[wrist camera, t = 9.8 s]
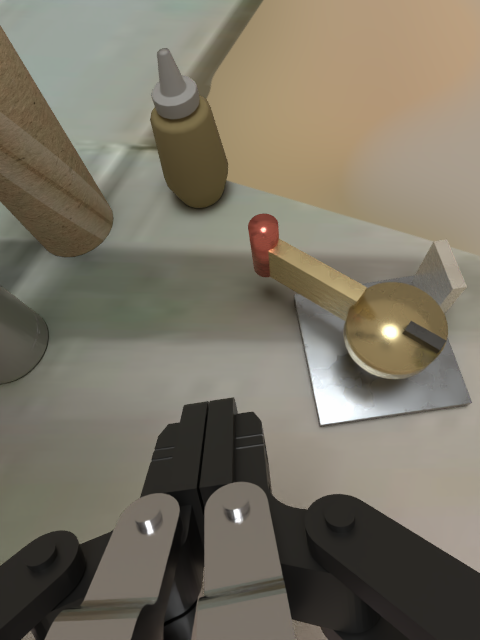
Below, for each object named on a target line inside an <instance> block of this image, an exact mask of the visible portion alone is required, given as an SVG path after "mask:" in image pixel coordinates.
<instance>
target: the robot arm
mask: <svg viewBox="0 0 480 640" xmlns="http://www.w3.org/2000/svg"><path fill="white" fill-rule="evenodd" d="M47 341H48V330H47V326H46V323H45V322H44V320H43V318H42V317H41V316H40V315H39V314H37V313H36V312H35V311H33V310H32V309H31V308H29V307H28V306H27V305H25V304H24V303H23V302H21V301H20V300H19V299H18V298H16V297H15V296H14V295H12V294H11V293H10V292H8V291H7V290H6V289H4V288H3V287H2V286H0V384H1V383H8V382H11V381H14V380H17V379H18V378H20V377H22V376H24V375H25V374H27V373H28V372H29V371H30V370H32V369H33V368H34V366H35V365H36V364H37V363H38V362H39V360H40V359H41V357H42V356H43V354H44V351H45V349H46V346H47ZM203 568H204V593H203V589H202V580H203ZM292 619H293V620H297V621H301V622H305V623H309V624H313V625H317V626H320V627H321V629H322V631H323V633H324V635H325V636H326V637H327V639H328V640H480V573H479V572H477V571H475V570H474V569H472V568H470V567H469V566H467V565H466V564H464V563H462V562H461V561H459V560H457V559H456V558H454V557H453V556H451V555H449V554H448V553H446V552H444V551H443V550H441V549H439V548H438V547H436V546H435V545H433V544H431V543H430V542H428V541H426V540H425V539H423V538H422V537H420V536H418V535H417V534H415V533H413V532H412V531H410V530H409V529H407V528H405V527H404V526H402V525H400V524H399V523H397V522H396V521H394V520H392V519H391V518H389V517H387V516H386V515H384V514H382V513H381V512H379V511H378V510H376V509H374V508H373V507H371V506H369V505H368V504H366V503H365V502H363V501H361V500H359V499H357V498H355V497H352V496H349V495H343V494H333V495H327V496H324V497H322V498H320V499H318V500H316V501H315V502H314V503H313V504H312V505H311V506H310V507H309V508H308V510H306V509H299V508H294V507H290V506H287V505H285V504H283V503H281V502H279V501H278V500H277V499H276V498H275V497H274V496H273V495H272V490H271V481H270V472H269V463H268V457H267V451H266V446H265V440H264V434H263V428H262V422H261V420H260V419H259V418H258V417H257V415H256V414H255V413H254V412H247V413H241V414H238V413H237V407H236V403H235V399H234V398H227V399H220V400H214V401H210V403H209V402H208V401H207V402H201V403H194V404H187V405H184V407H183V411H182V416H181V420H180V423H173V424H168V425H167V427H166V428H165V429H164V430H163V431H162V433H161V434H160V435H159V436H158V439H157V443H156V446H155V451H154V453H153V456H152V462H151V463H150V466H149V470H148V473H147V476H146V480H145V483H144V486H143V490H142V493H141V497H140V498H139V499H138V500H136V501H134V502H133V503H131V504H130V505H129V506H128V507H127V508H126V509H125V510H124V511H123V513H122V514H121V515H120V517H119V519H118V521H117V524H116V526H115V528H114V530H113V531H111V532H109V533H107V534H104V535H102V536H100V537H97V538H95V539H92V540H90V541H87V542H85V543H82V544H79V542H78V540H77V537H76V536H75V535H74V534H73V533H71V532H69V531H54V532H50V533H47V534H45V535H43V536H40V537H38V538H37V539H35V540H33V541H32V542H31V543H29V544H28V545H27V546H25V547H24V548H23V549H21V550H20V551H19V552H18V553H16V554H15V555H14V556H12V557H11V558H10V559H9V560H7V561H6V562H5V563H3V564H2V565H1V566H0V640H21V639H22V638H23V637H24V636H25V635H26V634H27V633H28V632H29V631H30V630H31V632H32V634H33V636H34V638H35V640H296V639H295V633H294V628H293V623H292Z"/></svg>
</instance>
